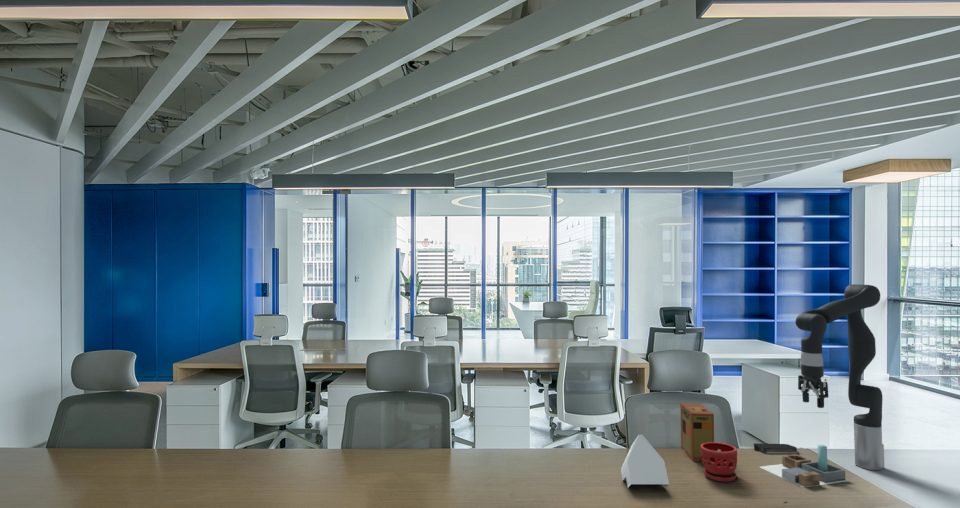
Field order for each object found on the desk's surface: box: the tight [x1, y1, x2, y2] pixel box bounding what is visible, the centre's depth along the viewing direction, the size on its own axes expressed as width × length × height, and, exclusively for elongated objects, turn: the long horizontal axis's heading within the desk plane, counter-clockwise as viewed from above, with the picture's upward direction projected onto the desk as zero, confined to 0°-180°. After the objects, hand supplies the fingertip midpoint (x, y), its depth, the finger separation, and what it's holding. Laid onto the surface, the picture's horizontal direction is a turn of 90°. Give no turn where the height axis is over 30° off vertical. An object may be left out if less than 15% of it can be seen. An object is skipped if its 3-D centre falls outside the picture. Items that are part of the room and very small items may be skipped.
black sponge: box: [752, 442, 798, 454], centre depth 226 cm, size 16×8×4 cm, turn 90°
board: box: [759, 463, 848, 488], centre depth 199 cm, size 22×20×1 cm
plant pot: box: [701, 441, 738, 483], centre depth 199 cm, size 13×13×12 cm
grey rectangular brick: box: [782, 467, 808, 484], centre depth 194 cm, size 8×6×3 cm
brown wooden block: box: [799, 472, 821, 488], centre depth 189 cm, size 7×2×4 cm, turn 105°
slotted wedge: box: [620, 434, 670, 489], centre depth 194 cm, size 14×11×18 cm
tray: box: [801, 461, 846, 483], centre depth 196 cm, size 10×10×4 cm
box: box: [680, 403, 715, 462], centre depth 224 cm, size 17×9×20 cm, turn 174°
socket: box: [781, 453, 812, 469], centre depth 205 cm, size 7×7×4 cm
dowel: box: [817, 444, 828, 472], centre depth 197 cm, size 3×3×11 cm
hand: (813, 404), depth 201 cm, fingers open, 8 cm apart
